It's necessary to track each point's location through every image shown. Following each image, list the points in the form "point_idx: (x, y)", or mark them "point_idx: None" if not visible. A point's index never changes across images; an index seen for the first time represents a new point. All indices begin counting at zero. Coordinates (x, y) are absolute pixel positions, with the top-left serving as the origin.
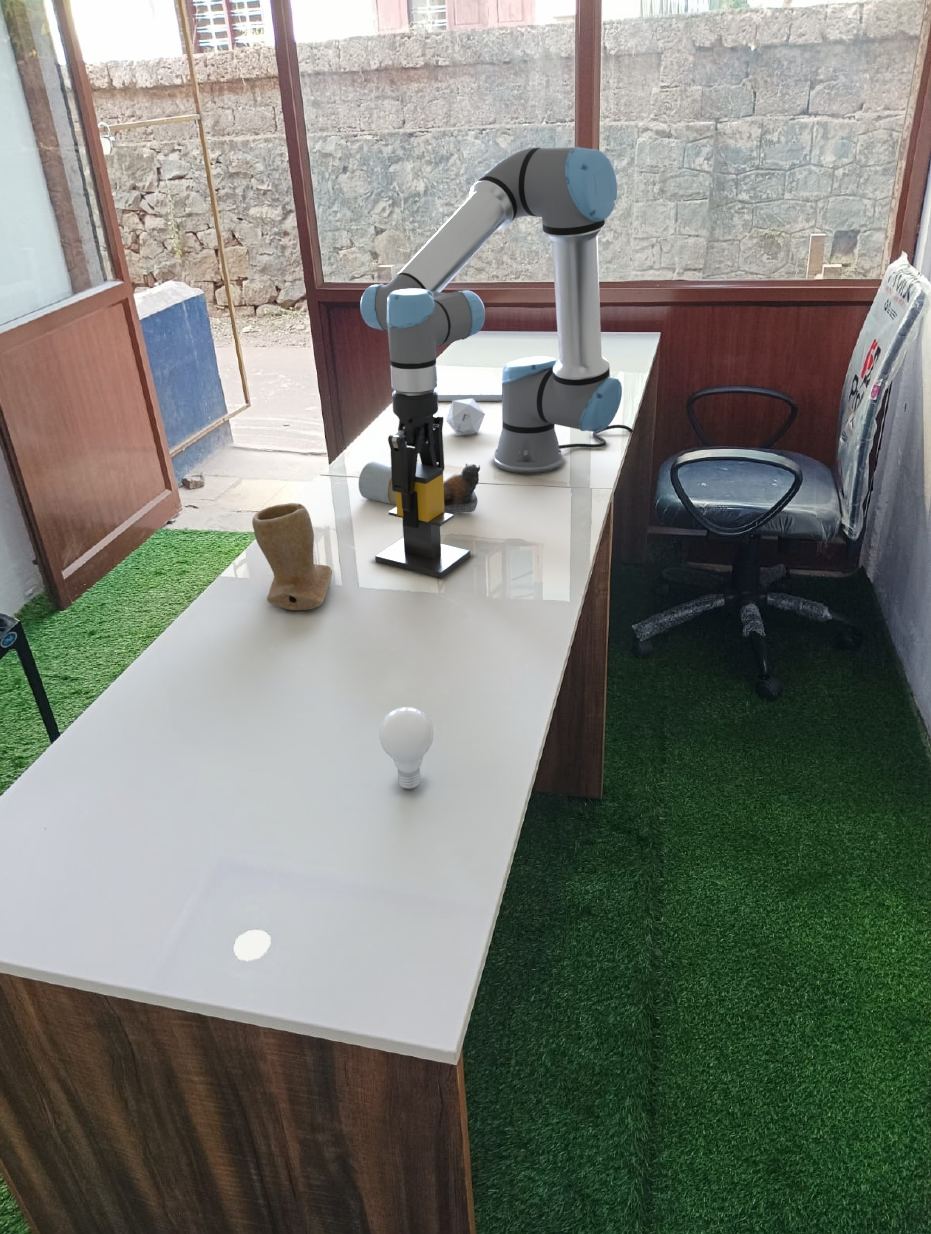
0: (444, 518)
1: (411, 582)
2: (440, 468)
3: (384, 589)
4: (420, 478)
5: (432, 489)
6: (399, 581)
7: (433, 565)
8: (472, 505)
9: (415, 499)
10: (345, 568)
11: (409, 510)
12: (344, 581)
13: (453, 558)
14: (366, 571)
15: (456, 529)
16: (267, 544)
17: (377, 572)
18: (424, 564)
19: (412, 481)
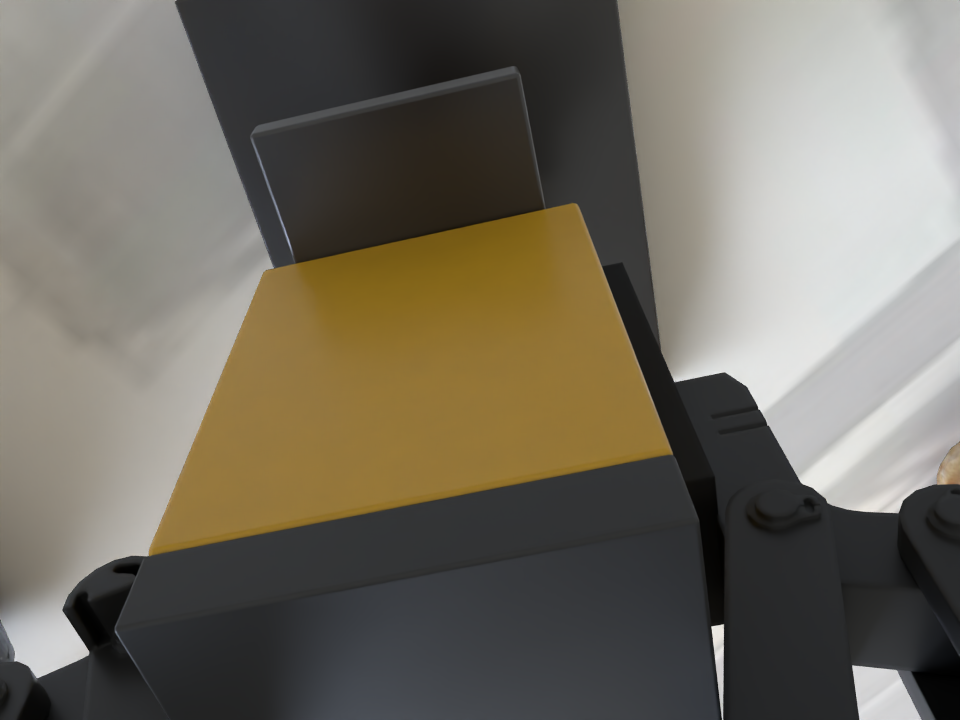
0: (391, 140)
1: (756, 27)
2: (159, 647)
3: (926, 93)
4: (705, 590)
5: (481, 397)
6: (785, 101)
7: (549, 34)
8: None
9: (681, 424)
10: (809, 440)
11: (729, 378)
12: (942, 339)
13: (363, 2)
14: (780, 341)
15: (4, 361)
16: None
17: (757, 289)
18: (575, 99)
19: (797, 612)
